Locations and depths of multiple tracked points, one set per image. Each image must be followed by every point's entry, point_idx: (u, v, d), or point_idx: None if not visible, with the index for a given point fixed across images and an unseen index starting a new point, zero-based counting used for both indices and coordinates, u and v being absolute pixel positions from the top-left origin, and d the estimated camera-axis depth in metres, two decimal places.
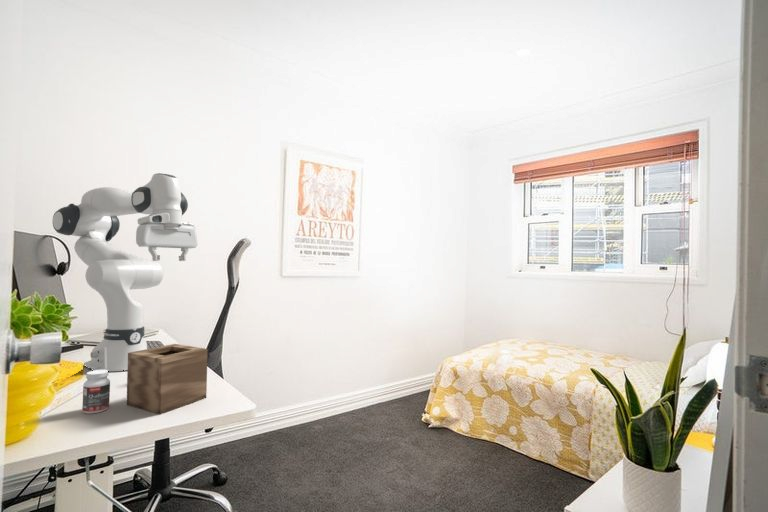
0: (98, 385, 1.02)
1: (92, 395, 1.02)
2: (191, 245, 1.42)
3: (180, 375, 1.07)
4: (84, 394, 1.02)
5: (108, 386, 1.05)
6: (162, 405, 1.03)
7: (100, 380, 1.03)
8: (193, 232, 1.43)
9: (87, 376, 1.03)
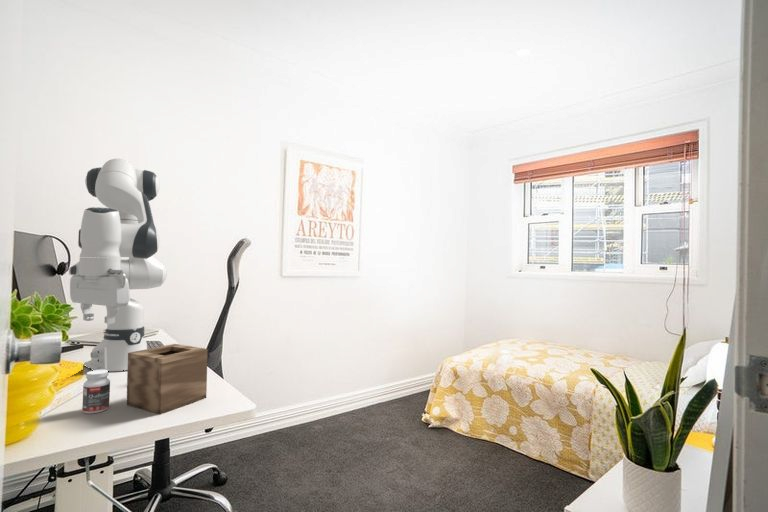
0: (98, 385, 1.02)
1: (92, 395, 1.02)
2: (108, 303, 1.00)
3: (180, 375, 1.07)
4: (84, 394, 1.02)
5: (108, 386, 1.05)
6: (162, 405, 1.03)
7: (100, 380, 1.03)
8: (111, 284, 1.00)
9: (87, 376, 1.03)
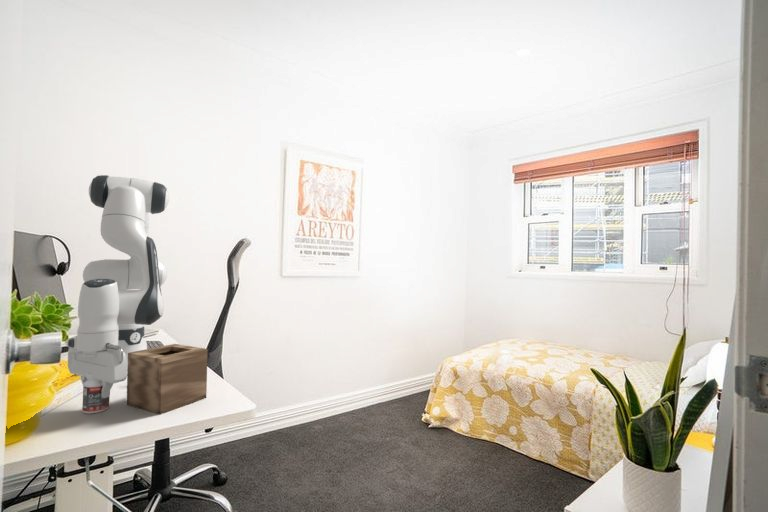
0: (98, 385, 1.02)
1: (92, 395, 1.02)
2: (106, 380, 1.00)
3: (180, 375, 1.07)
4: (84, 394, 1.02)
5: None
6: (162, 405, 1.03)
7: None
8: (109, 361, 0.99)
9: (87, 376, 1.03)
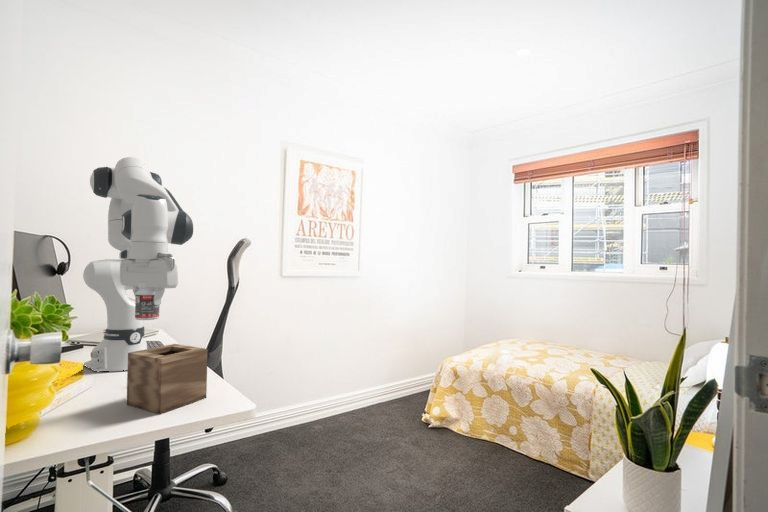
0: (150, 293, 1.08)
1: (144, 302, 1.07)
2: (159, 285, 1.05)
3: (180, 375, 1.07)
4: (137, 302, 1.07)
5: None
6: (162, 405, 1.03)
7: (151, 290, 1.08)
8: (162, 267, 1.04)
9: (139, 285, 1.08)
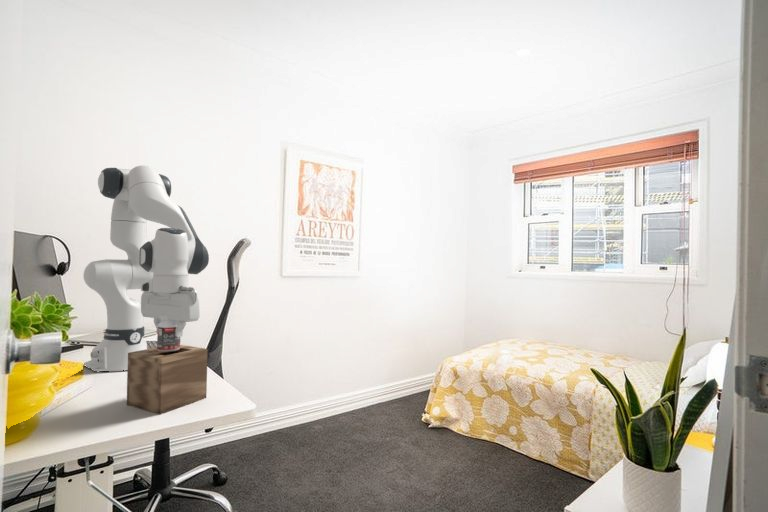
0: (172, 326, 1.10)
1: (166, 335, 1.09)
2: (181, 319, 1.07)
3: (180, 375, 1.07)
4: (159, 334, 1.09)
5: None
6: (162, 405, 1.03)
7: (173, 322, 1.11)
8: (184, 301, 1.07)
9: (161, 317, 1.10)
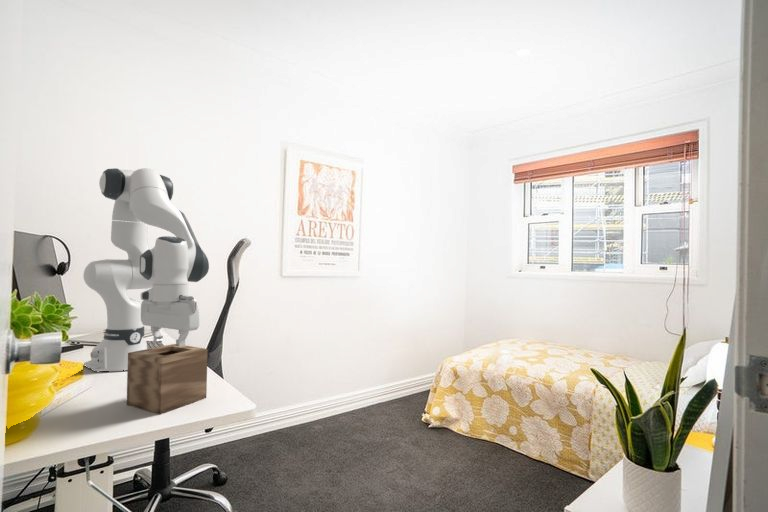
0: None
1: None
2: (181, 328, 1.07)
3: (180, 375, 1.07)
4: None
5: None
6: (162, 405, 1.03)
7: None
8: (184, 310, 1.07)
9: None
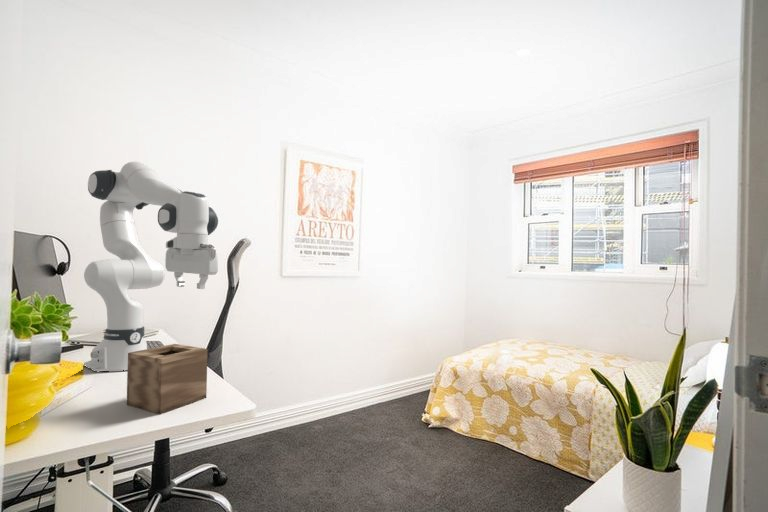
0: None
1: None
2: (202, 272, 1.21)
3: (180, 375, 1.07)
4: None
5: None
6: (162, 405, 1.03)
7: None
8: (205, 256, 1.20)
9: None
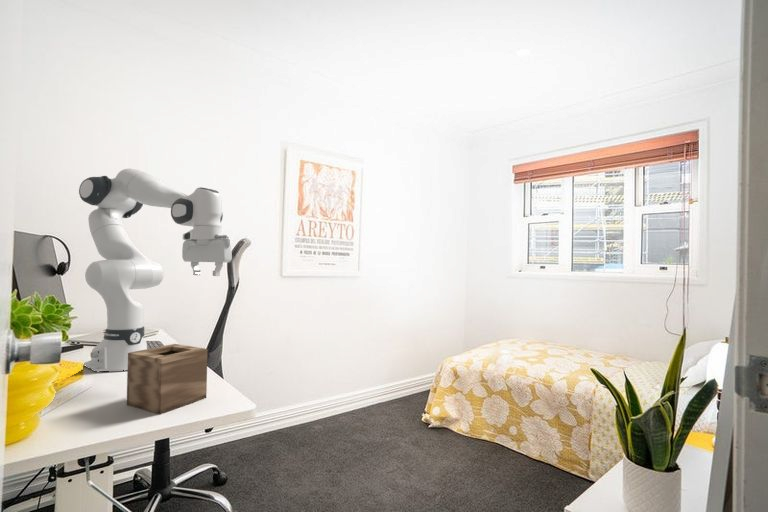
0: None
1: None
2: (217, 260, 1.32)
3: (180, 375, 1.07)
4: None
5: None
6: (162, 405, 1.03)
7: None
8: (220, 245, 1.32)
9: None
